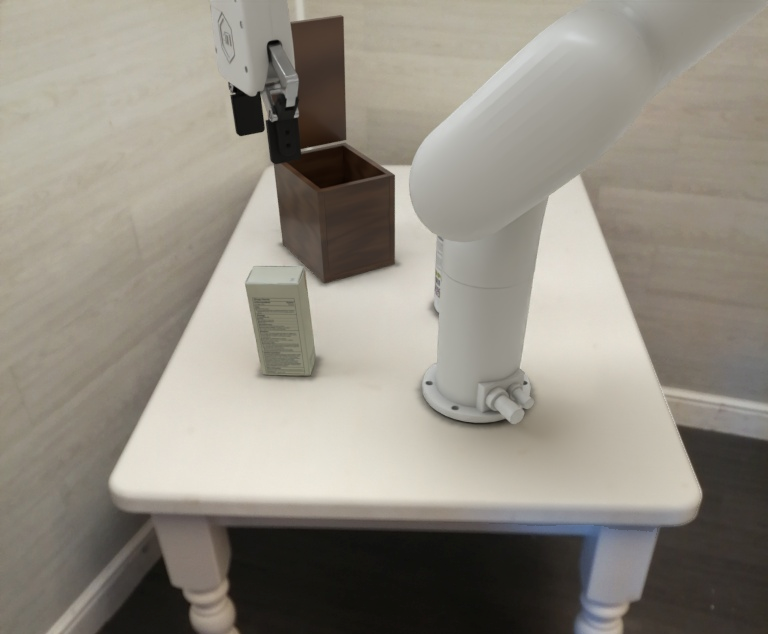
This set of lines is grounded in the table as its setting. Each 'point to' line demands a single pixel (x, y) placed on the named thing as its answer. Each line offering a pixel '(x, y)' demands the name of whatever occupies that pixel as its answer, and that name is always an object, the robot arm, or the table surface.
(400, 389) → the table surface
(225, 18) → the robot arm
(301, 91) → the lid
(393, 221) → the chest
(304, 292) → the cosmetic box
